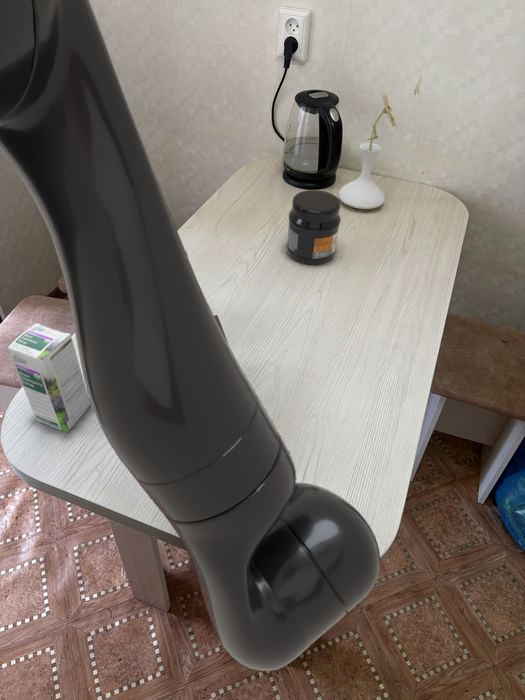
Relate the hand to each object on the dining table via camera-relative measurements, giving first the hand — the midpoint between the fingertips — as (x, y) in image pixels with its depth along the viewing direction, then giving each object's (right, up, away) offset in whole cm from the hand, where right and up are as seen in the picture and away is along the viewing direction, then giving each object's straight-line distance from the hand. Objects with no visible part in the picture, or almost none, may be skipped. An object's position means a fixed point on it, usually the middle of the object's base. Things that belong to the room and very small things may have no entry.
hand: (211, 466), depth 62 cm
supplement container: (+17, +35, +46) cm, 60 cm away
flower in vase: (+31, +52, +64) cm, 88 cm away
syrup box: (-23, +5, +12) cm, 26 cm away
